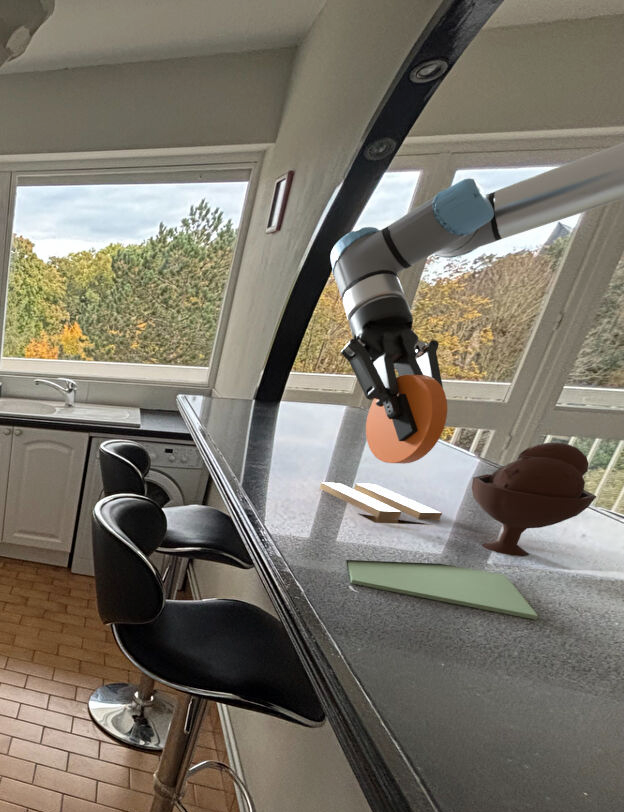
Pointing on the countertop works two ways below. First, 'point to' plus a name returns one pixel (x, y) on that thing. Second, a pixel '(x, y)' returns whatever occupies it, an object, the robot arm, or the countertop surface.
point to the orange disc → (427, 414)
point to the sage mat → (443, 584)
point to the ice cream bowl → (533, 492)
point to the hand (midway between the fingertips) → (418, 436)
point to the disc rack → (379, 509)
